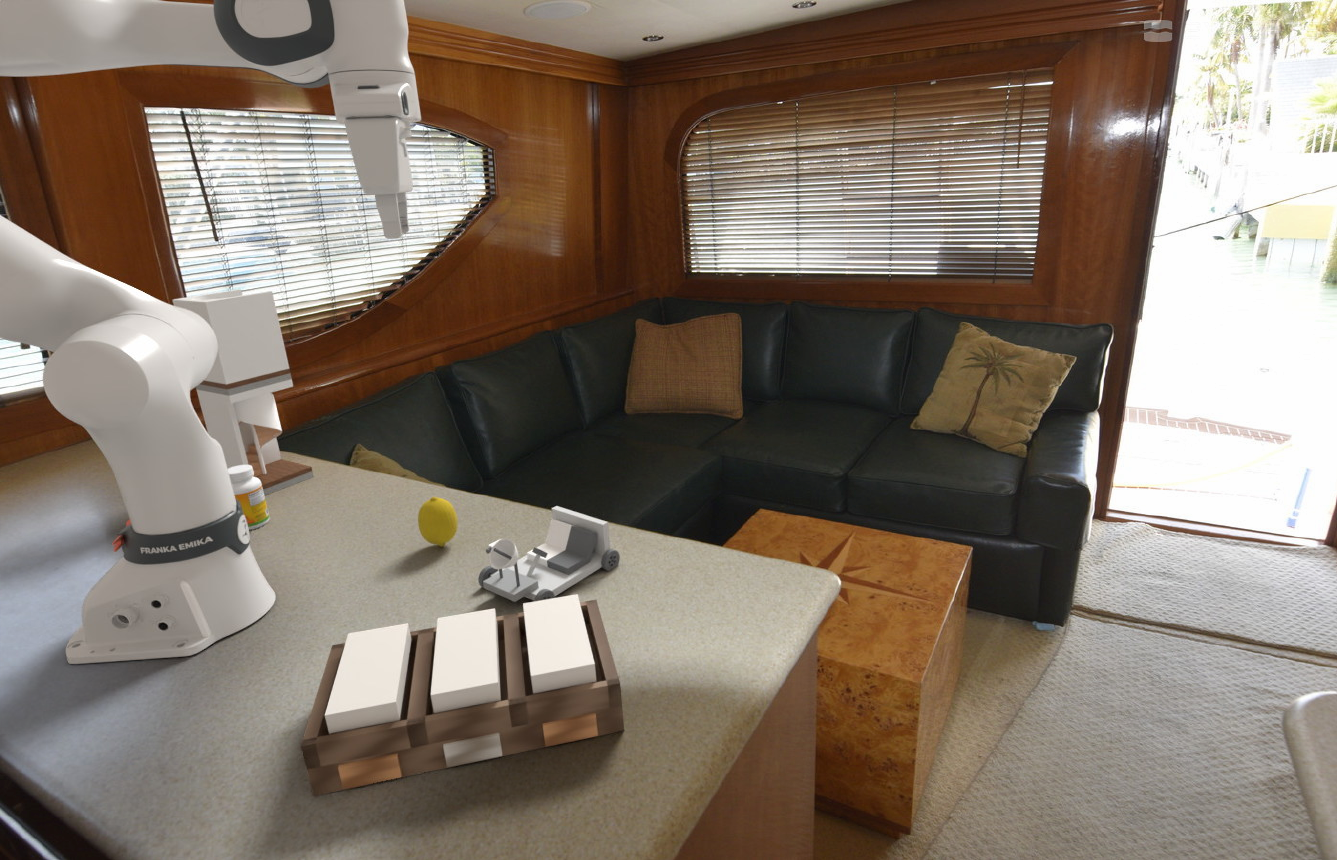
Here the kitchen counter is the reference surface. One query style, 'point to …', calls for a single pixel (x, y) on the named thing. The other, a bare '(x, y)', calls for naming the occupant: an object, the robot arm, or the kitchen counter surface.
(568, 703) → the brown boxy piece
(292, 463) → the white tiered stand
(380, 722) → the switch
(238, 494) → the supplement bottle
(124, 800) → the kitchen counter surface
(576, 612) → the switch
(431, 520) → the lemon
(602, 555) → the toy car
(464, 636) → the switch
